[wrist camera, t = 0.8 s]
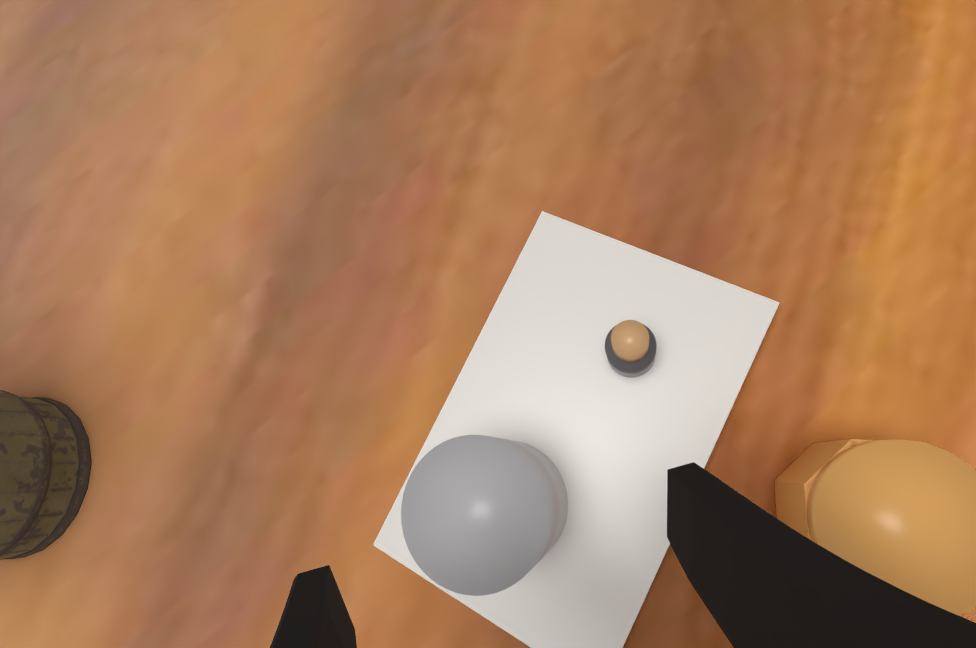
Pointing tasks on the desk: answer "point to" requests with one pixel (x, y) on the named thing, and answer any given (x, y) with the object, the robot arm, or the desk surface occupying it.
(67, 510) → the thermos
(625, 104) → the desk surface
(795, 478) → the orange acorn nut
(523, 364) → the plate
